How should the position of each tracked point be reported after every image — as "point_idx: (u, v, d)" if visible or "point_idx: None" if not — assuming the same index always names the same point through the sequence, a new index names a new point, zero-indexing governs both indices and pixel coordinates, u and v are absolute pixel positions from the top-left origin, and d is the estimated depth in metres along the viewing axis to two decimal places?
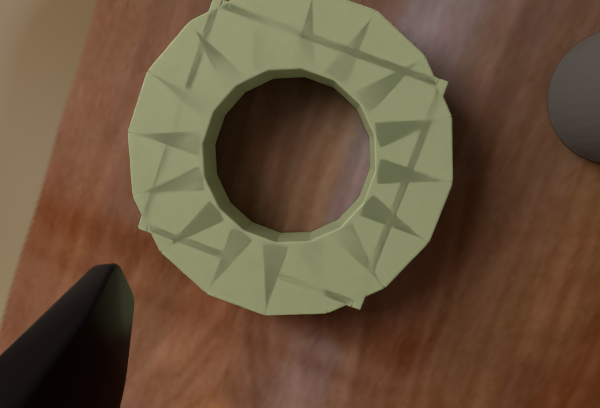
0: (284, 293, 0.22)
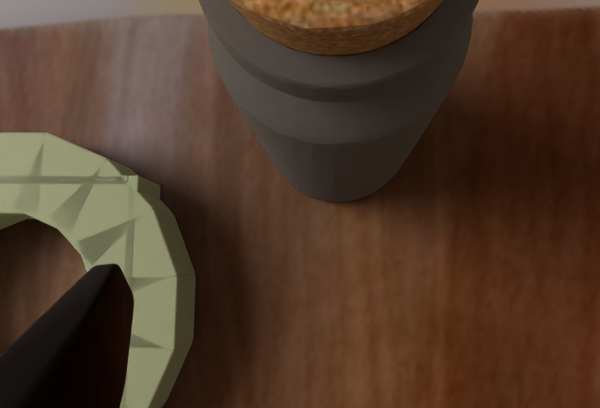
0: None
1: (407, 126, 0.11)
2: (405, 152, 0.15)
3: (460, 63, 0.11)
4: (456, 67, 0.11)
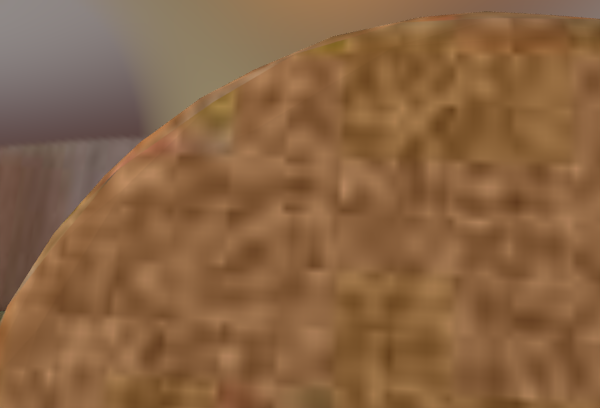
0: None
1: None
2: None
3: None
4: None
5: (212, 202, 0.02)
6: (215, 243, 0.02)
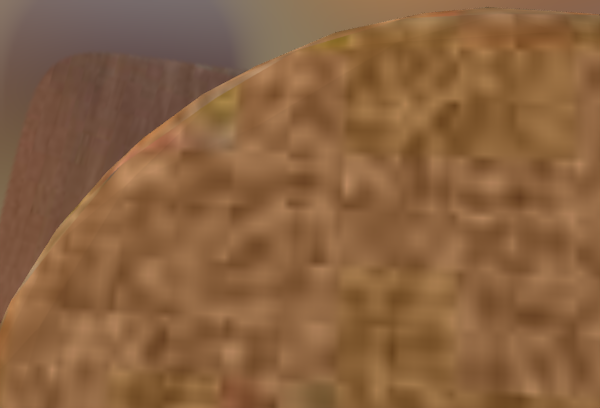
0: None
1: None
2: None
3: None
4: None
5: (215, 197, 0.02)
6: (218, 238, 0.02)
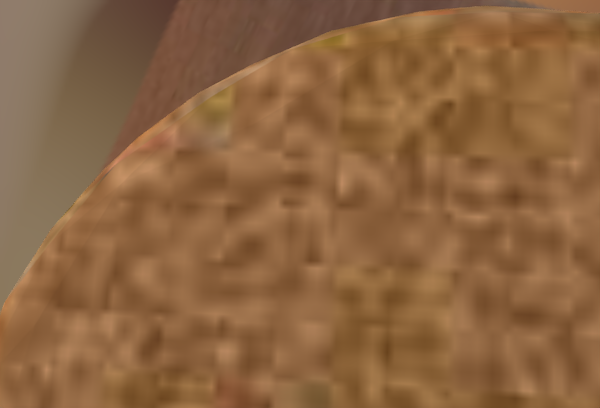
0: None
1: None
2: None
3: None
4: None
5: (210, 197, 0.02)
6: (213, 238, 0.02)
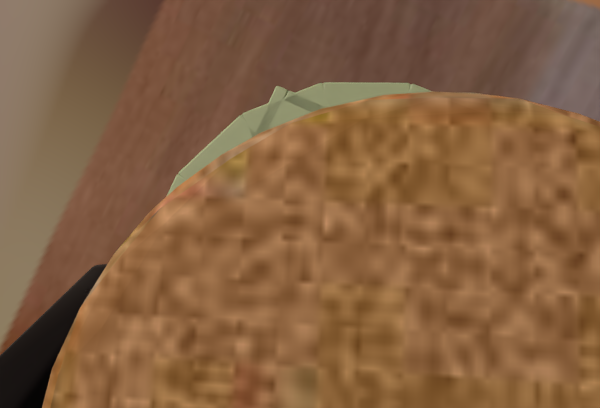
0: None
1: None
2: None
3: None
4: None
5: (231, 232, 0.03)
6: (233, 262, 0.03)
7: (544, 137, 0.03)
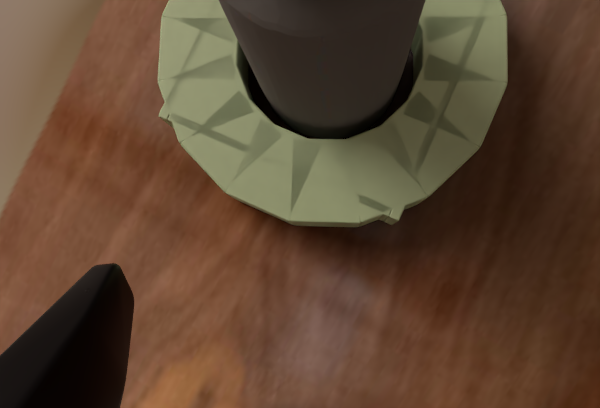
0: (313, 196, 0.20)
1: (383, 19, 0.12)
2: (388, 68, 0.16)
3: None
4: None
5: None
6: None
7: None
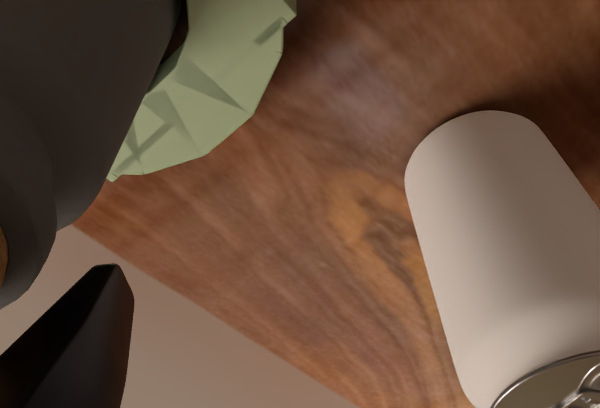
0: (238, 85, 0.19)
1: (96, 117, 0.11)
2: (133, 22, 0.13)
3: (31, 46, 0.10)
4: (36, 54, 0.10)
5: None
6: None
7: None
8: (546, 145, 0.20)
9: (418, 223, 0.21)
